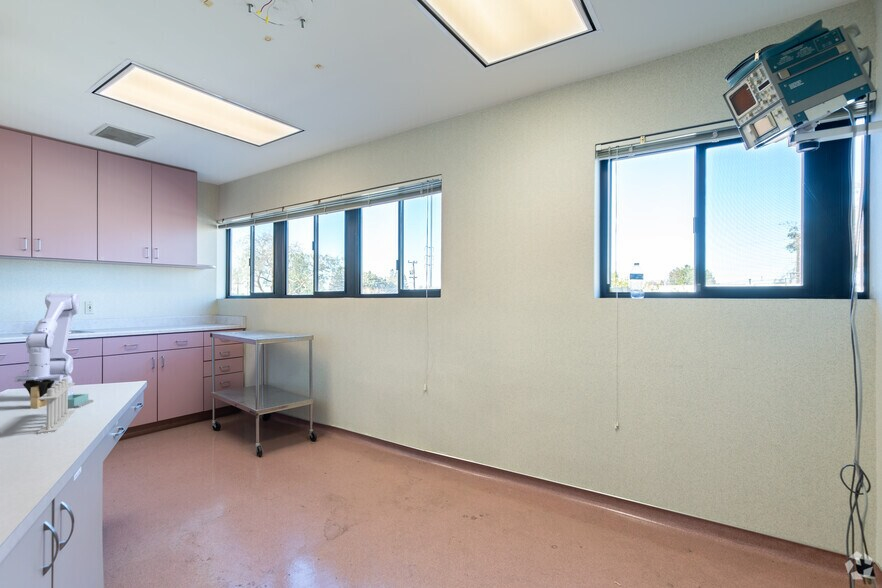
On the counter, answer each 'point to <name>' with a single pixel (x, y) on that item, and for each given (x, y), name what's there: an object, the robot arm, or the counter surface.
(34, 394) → the plank
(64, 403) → the test tube rack
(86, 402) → the stand
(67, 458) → the counter surface
